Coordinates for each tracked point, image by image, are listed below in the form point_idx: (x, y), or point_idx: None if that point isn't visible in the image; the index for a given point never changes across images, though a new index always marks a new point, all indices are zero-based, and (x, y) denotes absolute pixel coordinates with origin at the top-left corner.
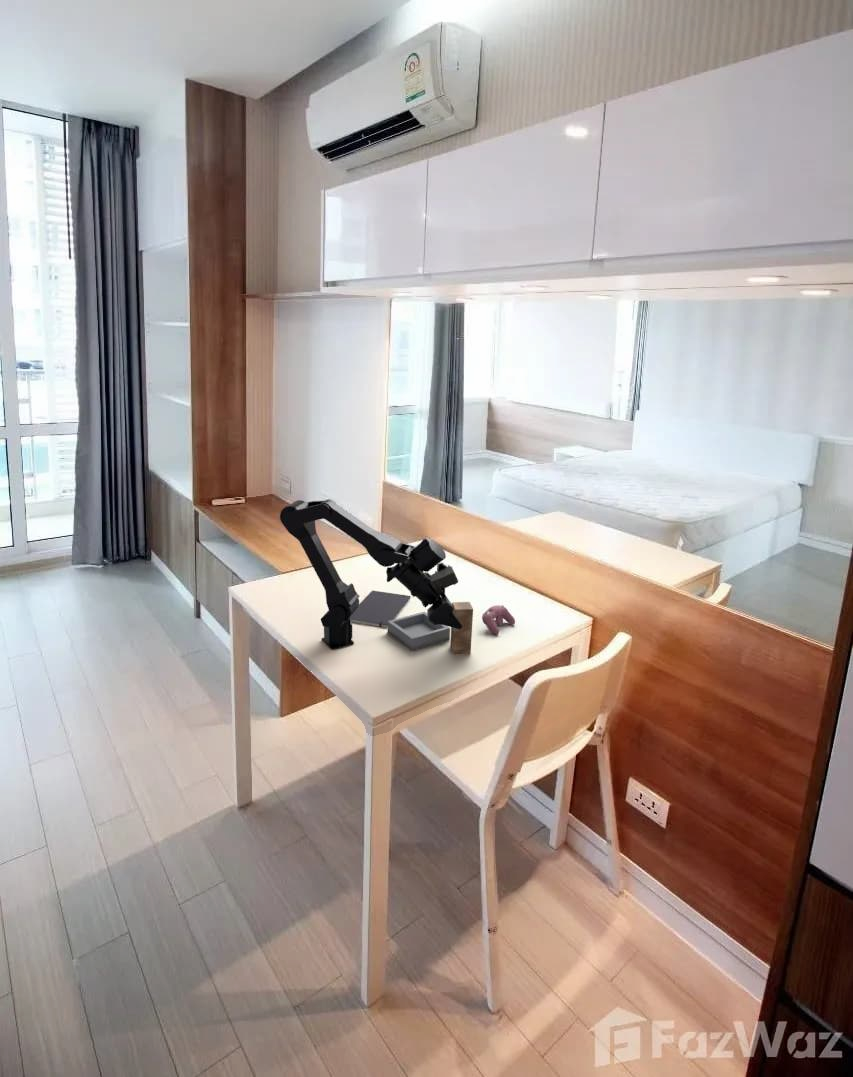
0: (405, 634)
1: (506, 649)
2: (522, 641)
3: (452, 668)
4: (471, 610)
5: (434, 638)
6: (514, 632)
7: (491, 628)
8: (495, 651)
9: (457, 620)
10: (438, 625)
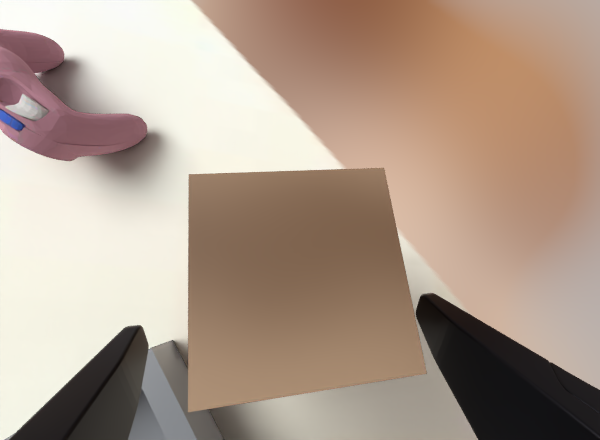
0: None
1: (266, 127)
2: (208, 66)
3: (421, 339)
4: (382, 189)
5: (210, 437)
6: (131, 72)
7: (122, 139)
8: (282, 164)
9: (516, 344)
10: None
